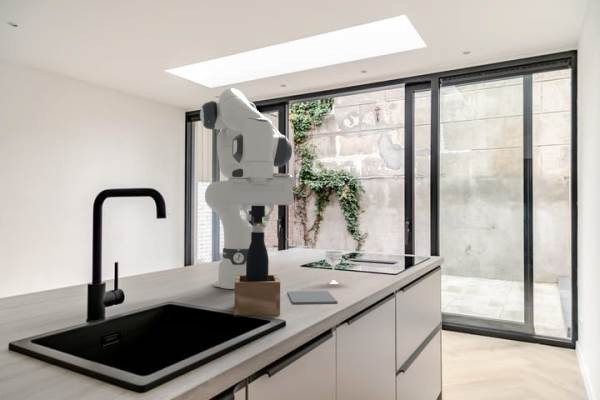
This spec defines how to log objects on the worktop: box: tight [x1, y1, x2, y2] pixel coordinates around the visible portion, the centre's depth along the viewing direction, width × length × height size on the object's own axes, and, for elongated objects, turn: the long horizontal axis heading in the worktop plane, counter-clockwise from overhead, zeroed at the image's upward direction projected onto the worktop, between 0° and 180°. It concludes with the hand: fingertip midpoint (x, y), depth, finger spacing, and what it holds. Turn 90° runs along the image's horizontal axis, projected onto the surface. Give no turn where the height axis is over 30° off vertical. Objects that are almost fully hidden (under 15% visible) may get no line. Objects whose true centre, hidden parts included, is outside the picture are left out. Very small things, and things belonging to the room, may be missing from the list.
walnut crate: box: [233, 274, 281, 317], centre depth 119 cm, size 12×12×9 cm
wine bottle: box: [246, 206, 270, 282], centre depth 119 cm, size 6×6×30 cm
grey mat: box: [287, 290, 338, 305], centre depth 135 cm, size 16×14×1 cm
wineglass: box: [324, 250, 343, 284], centre depth 163 cm, size 7×7×12 cm
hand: (257, 220), depth 119 cm, fingers closed on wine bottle, 4 cm apart
